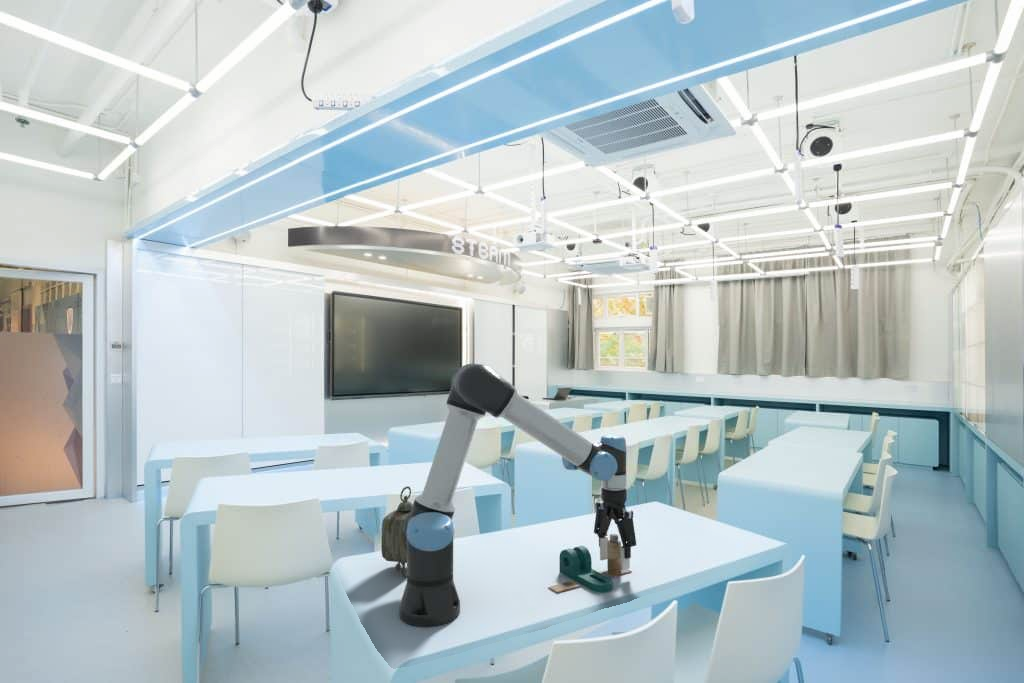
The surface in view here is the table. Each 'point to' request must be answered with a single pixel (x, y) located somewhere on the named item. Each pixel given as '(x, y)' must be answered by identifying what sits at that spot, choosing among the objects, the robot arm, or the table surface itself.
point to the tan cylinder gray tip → (614, 555)
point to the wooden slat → (572, 585)
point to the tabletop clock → (396, 533)
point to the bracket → (583, 570)
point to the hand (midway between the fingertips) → (614, 563)
